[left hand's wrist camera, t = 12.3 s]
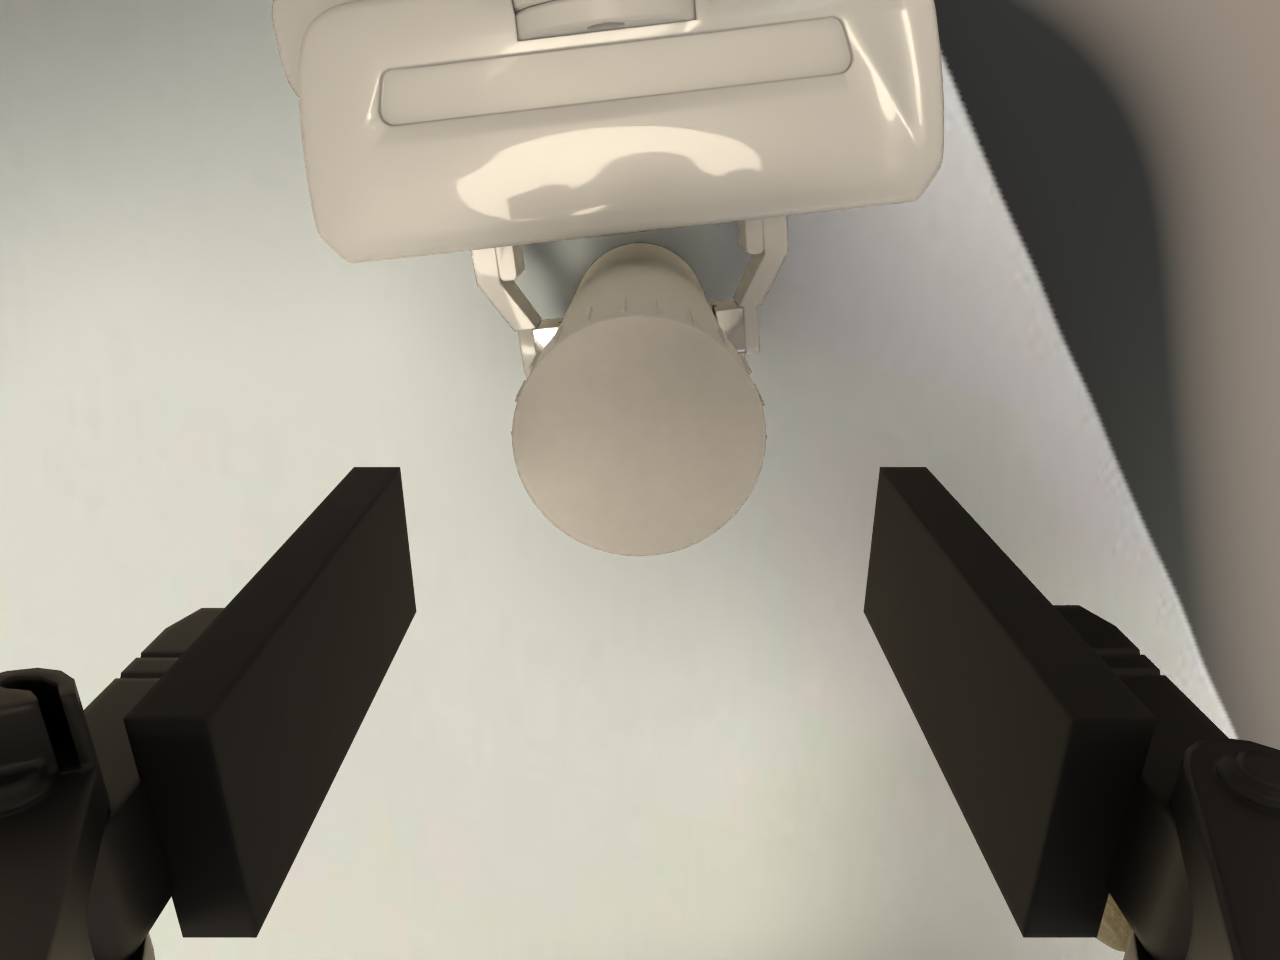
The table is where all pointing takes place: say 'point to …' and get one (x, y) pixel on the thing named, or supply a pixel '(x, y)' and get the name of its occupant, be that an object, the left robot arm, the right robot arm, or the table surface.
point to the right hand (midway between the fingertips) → (643, 363)
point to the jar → (640, 281)
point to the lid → (639, 428)
